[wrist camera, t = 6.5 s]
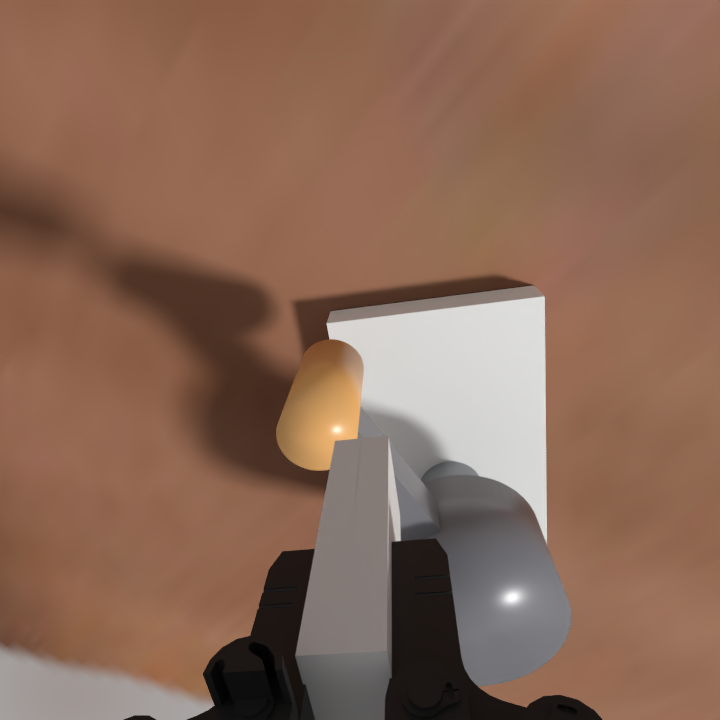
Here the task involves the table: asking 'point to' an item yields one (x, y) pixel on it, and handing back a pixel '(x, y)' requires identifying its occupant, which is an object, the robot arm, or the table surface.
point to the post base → (458, 384)
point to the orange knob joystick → (444, 525)
